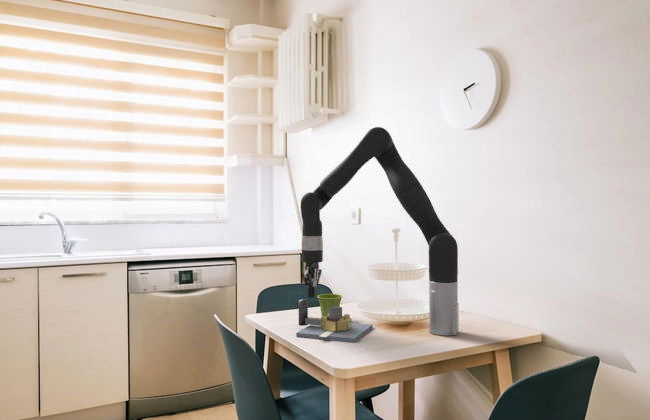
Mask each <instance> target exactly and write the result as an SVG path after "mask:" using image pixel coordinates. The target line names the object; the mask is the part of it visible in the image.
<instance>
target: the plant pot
mask: <svg viewBox="0 0 650 420" xmlns="http://www.w3.org/2000/svg"><path fill="white" fill-rule="evenodd" d="M316 296H317V297H316V298H317V299H318V302H319V306H320V314H321V317H322V316H328V313H329V307H333V306H338V307H341V305H340V304H341V302H342V298H343V295H341V294H338V293H323V294H322V293H321V294H318V295H316Z"/></svg>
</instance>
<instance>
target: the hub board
mask: <svg viewBox="0 0 650 420" xmlns="http://www.w3.org/2000/svg"><path fill="white" fill-rule="evenodd" d="M342 316H343V307H342V306H340V307H338V306H333V307H329V321H338V318H342ZM373 326H374V325H373V324H372V323H370V324H369V323H360V322H351V328H350V329H349V330H346V331H325V330H323V329H321V328H320V325H310V324H308V325H307V326H306V327H304V328H302V329H301V330H298V331H297V332H296V333H295V336H296V337H299V338H307V339H308V338H309V339H318V340H329V341H336V342H348V343H356V342H357V341H358V340H360V339H361V338H362V337H363V336H365V335H366V334H367V333H368V332H369V331H370V330H372V329H373Z"/></svg>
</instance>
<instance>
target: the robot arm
mask: <svg viewBox="0 0 650 420" xmlns="http://www.w3.org/2000/svg"><path fill="white" fill-rule="evenodd" d="M373 158H375V160H376V161H377V162H378V163H379V165H380V166H381V168H382V169H383V171H384V172H385V174H386V176H387V180H388V182H389V184H390V187H391V189H392V191H393V193H394V196H396V199H397V200H398V202H399V203H400V205H401V207H402V208H403V209H404V211H405V212H406V213H407V214H408V215H409V217H410V218H411V219H412V221H413V222H414V223H415V224H416V225H417V227H418V228H419V229H420V231H421V233H422V235H423V236H424V240H425V241H426V242H427V245H428V282H429V283H428V287H429V288H428V289H429V290H428V295H429V296H428V298H429V299H428V300H429V302H428V303H429V304H428V305H429V308H428V309H429V313H428V315H429V318H428V319H429V325H428V326H429V328H428V329H429V333H430V334H432V335H436V336H458V333H459V328H460V327H459V320H460V318H459V317H460V316H459V312H460V311H459V302H458V301H459V299H458V296H459V295H458V293H459V292H458V278H459V277H458V275H459V274H458V273H459V269H458V268H459V267H458V265H459V264H458V262H459V261H458V255H459V253H458V251H459V249H458V243H457V240H456V238H454V236H453V235H452V234H451V233H450V232H449V230H448V229H447V228H446V226H445V225H444V224H443V223H442V221H441V219H440V218H439V216H438V214H437V213H436V210H435V207H434V206H433V204H432V202H431V200H430V198H429V195H428V194H427V192H426V191H425V188H424V187H423V186H422V183H420V181H419V179H418V178H417V176H416V175H415V173H414V172H413V171H412V169H410V167H408V165H407V164H406V163H405V161H404V160H403V159H402V156H401V155H400V153H399V151H398V149H397V147H396V145H395V143H394V140H393V137H392V136H391V134H390V132H389V131H388V130H387V129H385V128H383V127H381V126H375V127H372V128H371V129H369V130H368V131H367V132H366V133H365V134H364V136H363V137H362V138H361V140H360V141H359V142H358V144H357V145H356V146H355V148H353V150H352V151H351V152H350V153H349V154H348V155H347V156H346V157H345V158H344V159H343V160H342V161H341V162H340V163H339V164H338V165H337V166H336V167H334V168H333V169H332V170H331V171H330V172H329V173H328V174H327V175H326V176H325V177H323V179H322V180H321V181H320V182H319V185H318V186H317V187H316V188H315V189H314V190H313V191H312V192H311V191H310V192H306V193H304V194H303V196H302V197H301V199H300V213H301V214H300V215H301V221H302V237H301V238H302V239H301V262H302V263H305V267H304V272H301V277H302V280H303V282H304V284H305V285H304V286H307V289H308V290H307V291H308V293H307V295H308V296H307V297H308V298H310V299H312V298H313V299H314V298H315V297H316V296H317V295H316V293H317V291H316V287H317V285H319V282H320V278H321V276H322V275H321V274H322V272H323V271H322V269H321V268H320V264H319V263H322V262H323V260H324V259H323V258H324V257H323V256H324V255H323V254H324V253H323V251H324V250H323V249H324V248H323V247H324V244H323V243H324V239H323V223H322V220H321V217H320V216H321V214H320V213H321V212H320V211H321V210H322V209H324V208H325V206H326V205H327V204H328V203H329V202H330V201H331V200H332V199H333V197H334V196H336V195H337V194H338V193H339V192H340V191H341V190H342V189H343V188H345V187H346V185H348V184H349V183H350V181H351V180H353V178H354V177H355V175H356V174H357V173H358V171H359V170H360V169H361V168H362V167H364V166H365V164H367V163H368V162H369V161H371V160H372V159H373Z"/></svg>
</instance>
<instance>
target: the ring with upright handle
mask: <svg viewBox="0 0 650 420" xmlns="http://www.w3.org/2000/svg"><path fill="white" fill-rule="evenodd" d="M308 300H309V299H306V298H305V299H304V298H301V299H298V326H301V327H303V326H304V327H305V326H306V327H307V326H309V325H320V328H321V329H323V330H325V331H346V330H349V329H350V328H351V323H352V318H351V315H350V314H349V313H345V314H343V315H342V318H338V321H329V313H328V316H322V315H321V317H310V316H309V308H308V307H309V304H308V303H309V301H308Z"/></svg>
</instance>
